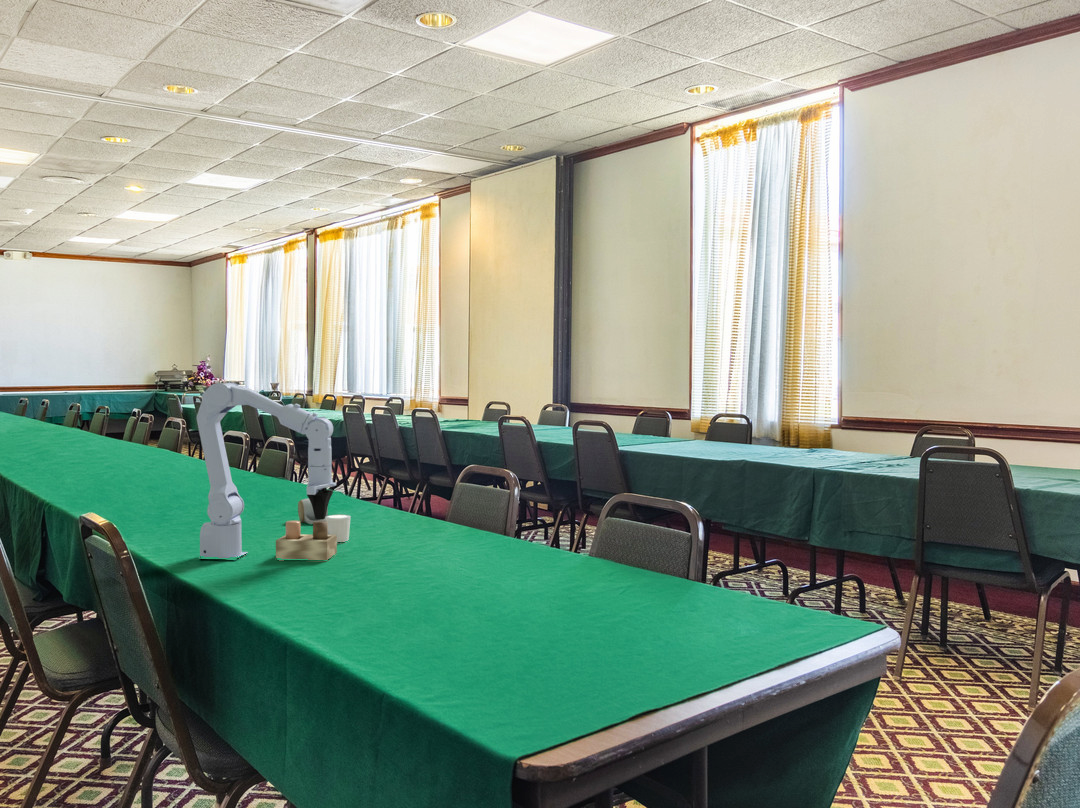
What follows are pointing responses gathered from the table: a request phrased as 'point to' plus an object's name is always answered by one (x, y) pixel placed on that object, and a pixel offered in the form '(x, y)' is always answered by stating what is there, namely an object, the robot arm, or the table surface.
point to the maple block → (306, 548)
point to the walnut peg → (320, 530)
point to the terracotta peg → (293, 530)
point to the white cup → (339, 526)
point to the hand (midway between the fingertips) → (320, 519)
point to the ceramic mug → (307, 512)
